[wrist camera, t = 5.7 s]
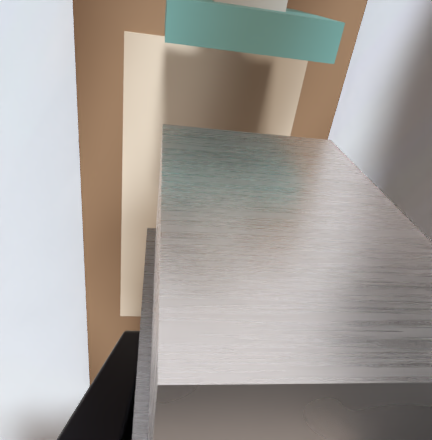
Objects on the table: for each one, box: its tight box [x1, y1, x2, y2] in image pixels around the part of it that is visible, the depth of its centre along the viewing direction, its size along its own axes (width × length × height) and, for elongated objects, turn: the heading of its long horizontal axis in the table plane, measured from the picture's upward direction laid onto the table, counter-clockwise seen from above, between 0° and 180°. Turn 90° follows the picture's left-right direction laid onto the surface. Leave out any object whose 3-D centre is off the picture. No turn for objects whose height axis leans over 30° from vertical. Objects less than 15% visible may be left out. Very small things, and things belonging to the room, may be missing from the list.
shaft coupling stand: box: [73, 0, 367, 385], centre depth 14 cm, size 9×26×6 cm, turn 173°
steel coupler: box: [132, 124, 432, 440], centre depth 8 cm, size 10×4×6 cm, turn 173°
